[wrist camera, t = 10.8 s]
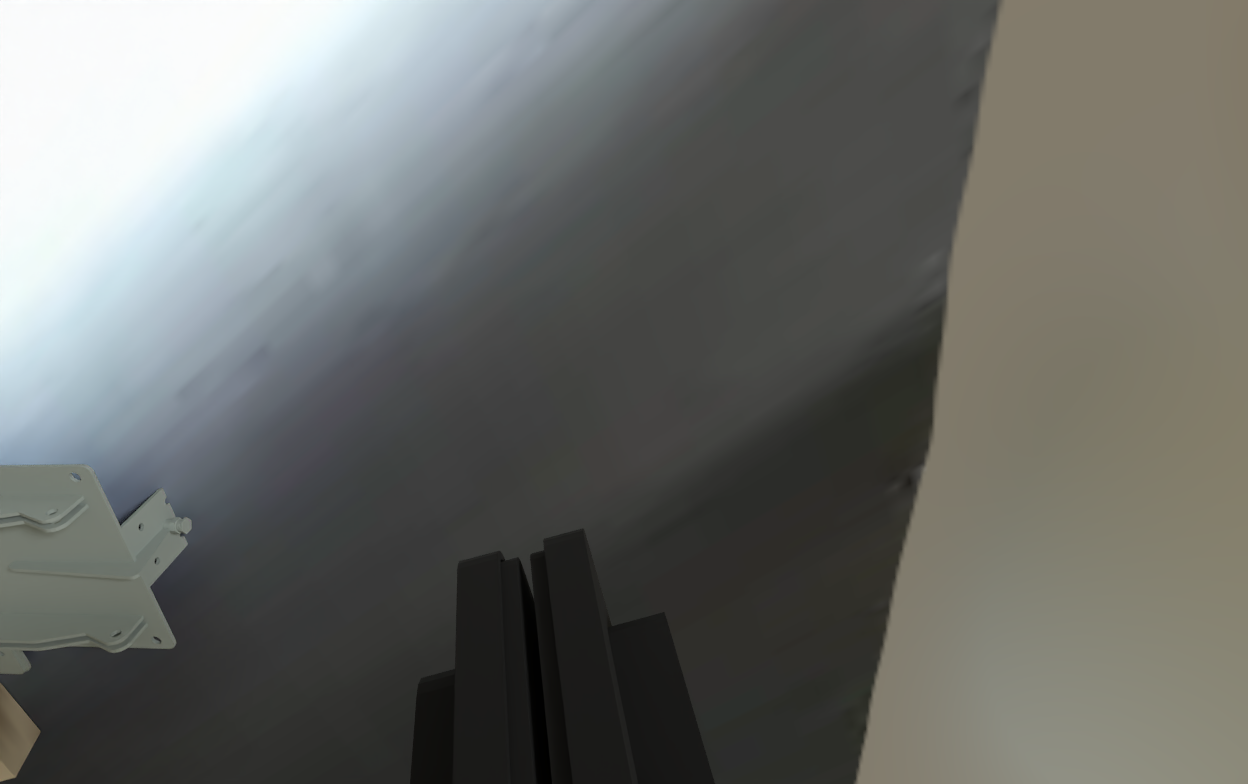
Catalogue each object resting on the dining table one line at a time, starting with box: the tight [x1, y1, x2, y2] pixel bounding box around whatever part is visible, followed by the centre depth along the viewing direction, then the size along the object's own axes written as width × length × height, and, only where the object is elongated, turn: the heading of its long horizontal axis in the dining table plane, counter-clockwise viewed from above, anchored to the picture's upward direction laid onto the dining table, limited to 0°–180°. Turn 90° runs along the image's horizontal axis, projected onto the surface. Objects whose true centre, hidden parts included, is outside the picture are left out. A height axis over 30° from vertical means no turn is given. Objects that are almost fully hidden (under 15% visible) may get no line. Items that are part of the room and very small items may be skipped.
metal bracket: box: [0, 464, 192, 674], centre depth 41 cm, size 14×6×15 cm
